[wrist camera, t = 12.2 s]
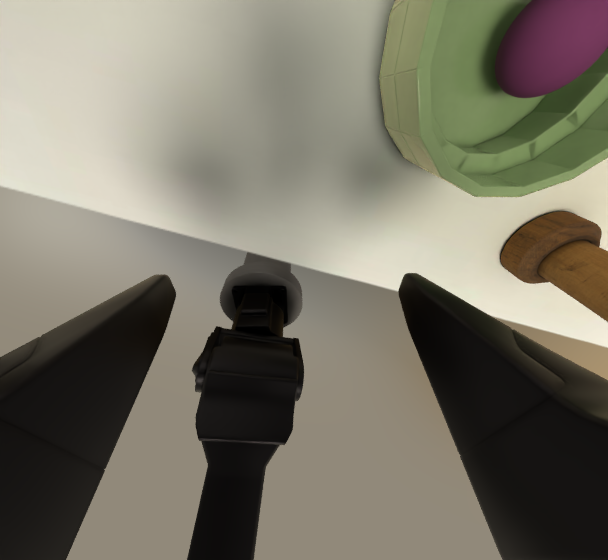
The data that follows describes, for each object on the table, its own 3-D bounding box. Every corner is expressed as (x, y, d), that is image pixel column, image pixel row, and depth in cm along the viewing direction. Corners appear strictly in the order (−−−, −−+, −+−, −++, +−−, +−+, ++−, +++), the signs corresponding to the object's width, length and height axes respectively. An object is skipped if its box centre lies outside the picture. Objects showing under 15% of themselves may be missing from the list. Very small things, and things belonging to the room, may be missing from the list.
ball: (494, 99, 15) (584, 99, 13) (466, 97, 13) (568, 96, 10) (537, -3, 12) (664, -31, 10) (511, -27, 10) (665, -71, 8)
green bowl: (524, 172, 18) (605, 198, 13) (360, 170, 17) (385, 196, 13) (716, -157, 10) (1107, -394, 5) (418, -180, 9) (545, -466, 5)
